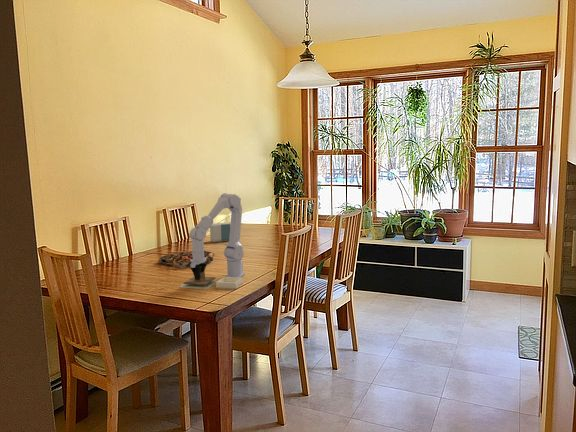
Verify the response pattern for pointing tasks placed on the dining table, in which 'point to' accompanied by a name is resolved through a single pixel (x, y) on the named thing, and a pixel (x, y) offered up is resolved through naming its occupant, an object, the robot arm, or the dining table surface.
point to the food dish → (182, 259)
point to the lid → (202, 280)
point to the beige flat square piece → (199, 285)
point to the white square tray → (229, 283)
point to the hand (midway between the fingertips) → (199, 278)
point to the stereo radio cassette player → (220, 231)
